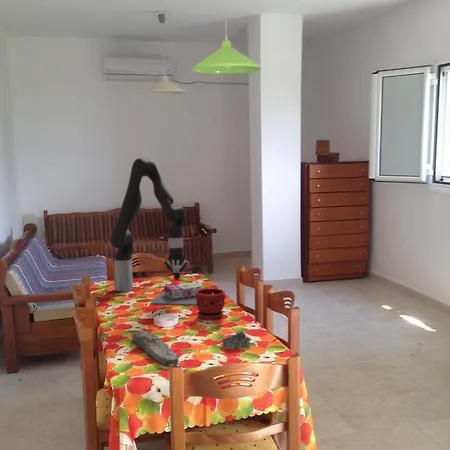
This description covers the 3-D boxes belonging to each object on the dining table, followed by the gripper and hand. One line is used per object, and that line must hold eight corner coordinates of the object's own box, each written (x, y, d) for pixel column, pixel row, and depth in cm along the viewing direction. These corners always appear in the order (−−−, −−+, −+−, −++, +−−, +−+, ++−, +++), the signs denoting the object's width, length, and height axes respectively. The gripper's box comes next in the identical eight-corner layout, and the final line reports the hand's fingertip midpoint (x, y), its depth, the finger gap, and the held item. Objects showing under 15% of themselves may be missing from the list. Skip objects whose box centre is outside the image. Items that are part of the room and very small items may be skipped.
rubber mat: (150, 304, 269) (150, 302, 268) (162, 293, 288) (162, 292, 288) (197, 305, 264) (197, 304, 264) (205, 294, 284) (205, 293, 284)
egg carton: (243, 340, 216) (243, 330, 216) (252, 346, 210) (252, 336, 209) (219, 344, 212) (219, 334, 211) (228, 351, 205) (228, 340, 205)
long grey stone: (159, 373, 189) (185, 369, 194) (160, 359, 188) (186, 355, 193) (126, 338, 219) (149, 335, 224) (126, 326, 218) (149, 323, 223)
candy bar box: (171, 300, 272) (201, 295, 279) (170, 290, 272) (201, 286, 278) (164, 295, 283) (193, 291, 289) (164, 285, 282) (193, 281, 288)
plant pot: (222, 321, 239) (221, 295, 238) (193, 320, 242) (192, 294, 240) (227, 312, 252) (227, 287, 250) (200, 311, 255) (199, 286, 253)
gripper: (161, 247, 269) (162, 281, 271) (186, 247, 266) (188, 281, 269) (165, 244, 276) (166, 277, 279) (190, 244, 274) (191, 278, 276)
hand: (177, 279), depth 274 cm, fingers closed
